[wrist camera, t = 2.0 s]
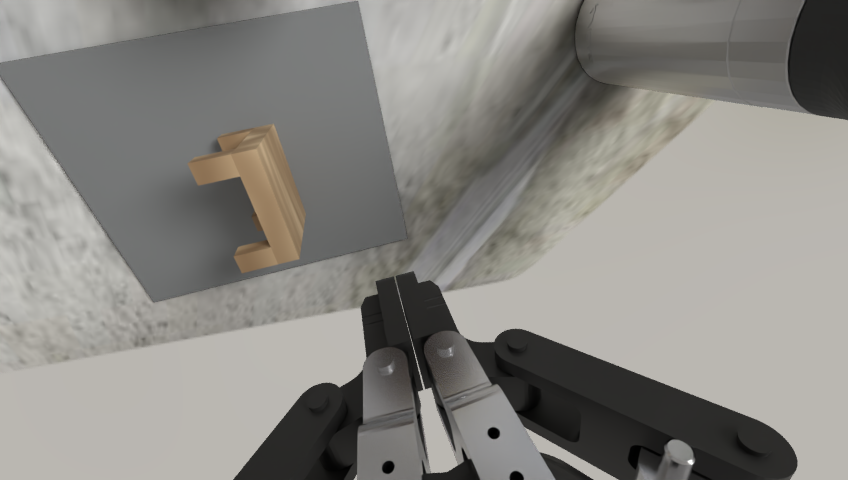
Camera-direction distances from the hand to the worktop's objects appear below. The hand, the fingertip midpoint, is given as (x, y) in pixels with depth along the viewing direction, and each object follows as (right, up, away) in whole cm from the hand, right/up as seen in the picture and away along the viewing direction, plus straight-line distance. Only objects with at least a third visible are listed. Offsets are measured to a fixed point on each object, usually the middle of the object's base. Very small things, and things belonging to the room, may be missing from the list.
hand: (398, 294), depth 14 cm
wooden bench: (-12, +7, +16) cm, 22 cm away
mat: (-14, +8, +16) cm, 23 cm away
